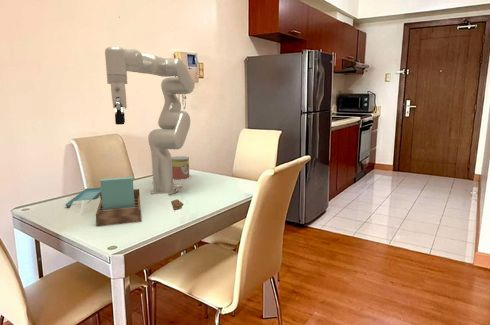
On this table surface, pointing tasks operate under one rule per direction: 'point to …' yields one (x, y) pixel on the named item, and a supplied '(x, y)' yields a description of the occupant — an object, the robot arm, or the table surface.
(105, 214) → the rack
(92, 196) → the shallow long dish
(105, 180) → the tall sheet
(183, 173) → the canned food
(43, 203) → the table surface
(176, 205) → the wooden fragment
